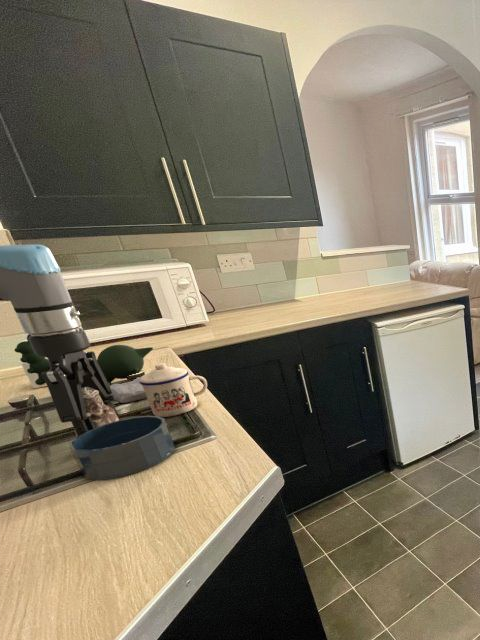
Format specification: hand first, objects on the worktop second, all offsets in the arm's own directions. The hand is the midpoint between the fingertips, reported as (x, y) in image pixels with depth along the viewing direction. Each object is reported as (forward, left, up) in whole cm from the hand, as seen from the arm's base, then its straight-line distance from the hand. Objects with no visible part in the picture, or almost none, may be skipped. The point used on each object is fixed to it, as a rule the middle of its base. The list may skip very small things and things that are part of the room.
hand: (103, 438), depth 87 cm
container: (-31, +52, -1) cm, 60 cm away
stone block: (-2, +28, -1) cm, 28 cm away
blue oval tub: (+8, -11, -1) cm, 14 cm away
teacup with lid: (+11, +13, -1) cm, 17 cm away
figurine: (0, 0, -1) cm, 1 cm away
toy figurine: (-14, +39, -1) cm, 42 cm away
